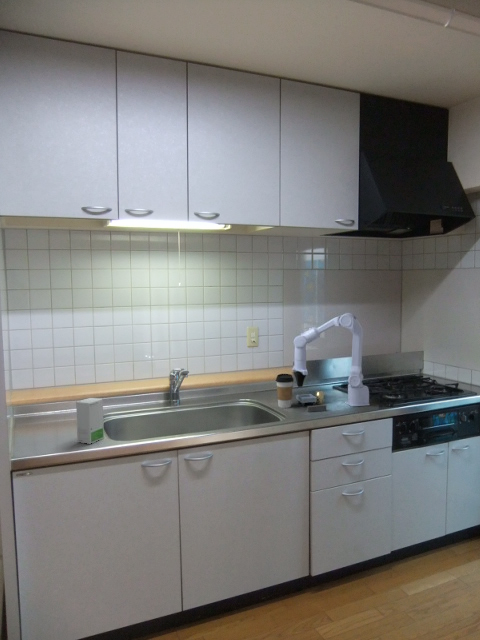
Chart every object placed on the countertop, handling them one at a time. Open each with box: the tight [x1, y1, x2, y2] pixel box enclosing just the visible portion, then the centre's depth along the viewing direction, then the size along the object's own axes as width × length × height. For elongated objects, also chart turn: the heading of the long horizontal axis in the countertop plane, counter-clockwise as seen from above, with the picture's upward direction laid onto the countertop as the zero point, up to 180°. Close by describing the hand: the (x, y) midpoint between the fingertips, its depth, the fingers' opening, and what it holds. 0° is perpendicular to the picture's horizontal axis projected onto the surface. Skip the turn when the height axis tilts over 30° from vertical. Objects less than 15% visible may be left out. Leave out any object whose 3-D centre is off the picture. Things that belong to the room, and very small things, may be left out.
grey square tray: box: [295, 393, 317, 407], centre depth 232 cm, size 8×8×4 cm
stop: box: [306, 404, 327, 413], centre depth 220 cm, size 9×1×2 cm, turn 105°
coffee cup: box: [275, 373, 294, 409], centre depth 228 cm, size 8×8×15 cm
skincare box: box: [75, 397, 105, 445], centre depth 182 cm, size 8×7×16 cm
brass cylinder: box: [315, 390, 325, 405], centre depth 234 cm, size 4×4×6 cm
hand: (300, 386), depth 239 cm, fingers closed
